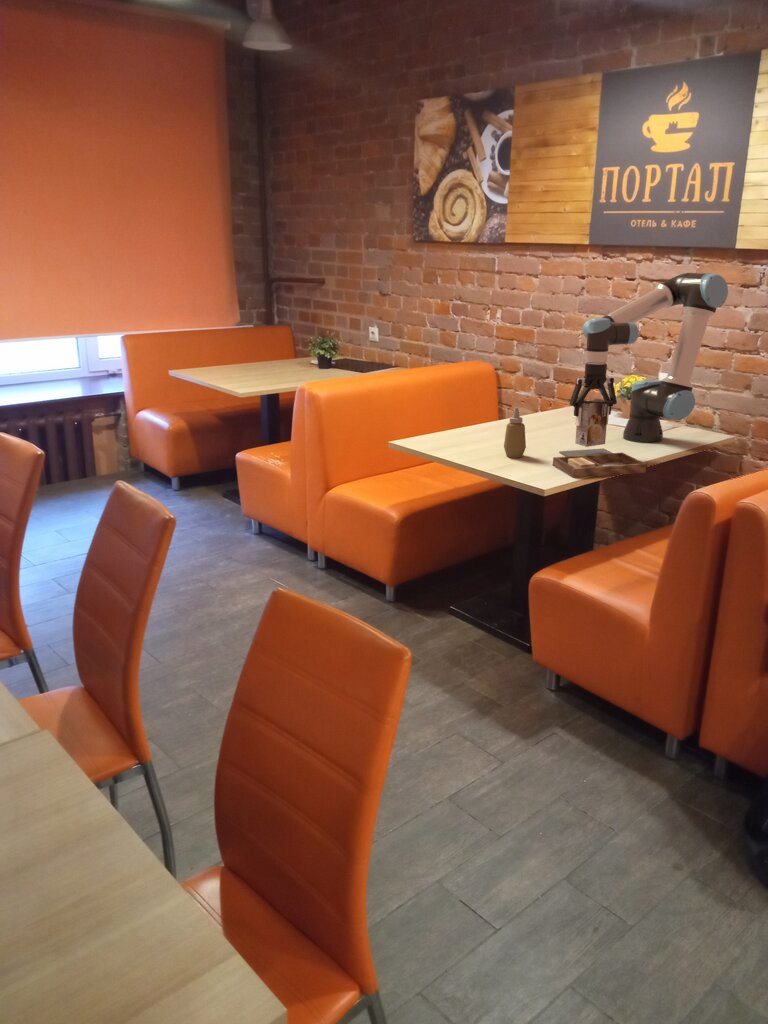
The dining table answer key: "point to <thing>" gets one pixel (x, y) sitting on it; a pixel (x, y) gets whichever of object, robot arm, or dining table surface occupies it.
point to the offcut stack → (580, 463)
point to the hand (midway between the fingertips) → (591, 424)
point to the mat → (584, 452)
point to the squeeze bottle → (515, 436)
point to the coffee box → (592, 423)
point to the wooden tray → (600, 470)
